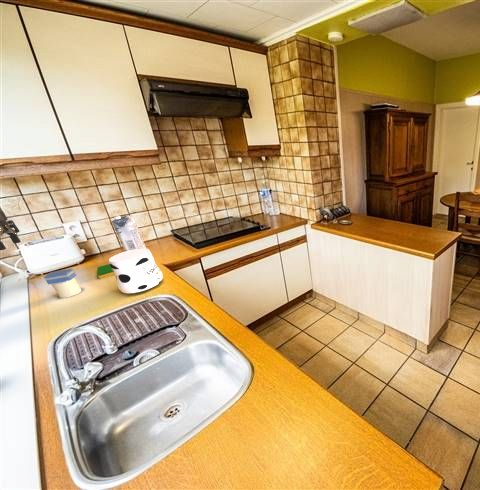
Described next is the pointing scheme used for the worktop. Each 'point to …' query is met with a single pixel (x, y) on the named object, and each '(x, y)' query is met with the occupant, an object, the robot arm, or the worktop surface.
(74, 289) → the yogurt pot
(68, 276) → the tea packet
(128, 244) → the juice carton
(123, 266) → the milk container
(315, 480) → the worktop surface
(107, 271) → the dish sponge
